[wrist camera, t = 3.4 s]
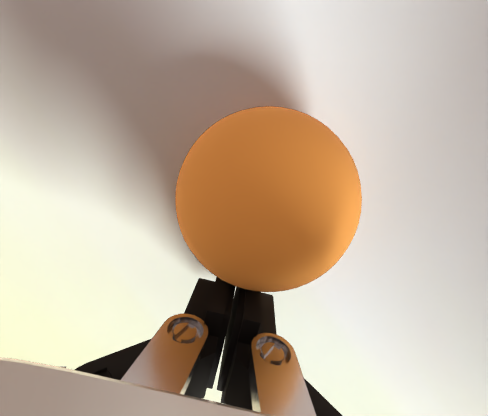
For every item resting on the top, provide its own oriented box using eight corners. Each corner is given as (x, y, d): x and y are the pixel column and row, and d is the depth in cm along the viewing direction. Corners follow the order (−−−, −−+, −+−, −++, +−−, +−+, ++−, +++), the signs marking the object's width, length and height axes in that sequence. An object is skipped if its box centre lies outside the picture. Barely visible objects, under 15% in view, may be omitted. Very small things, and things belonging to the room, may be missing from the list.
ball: (352, 135, 11) (451, 137, 5) (306, 259, 13) (345, 362, 7) (215, 97, 11) (167, 55, 5) (186, 227, 13) (126, 303, 7)
